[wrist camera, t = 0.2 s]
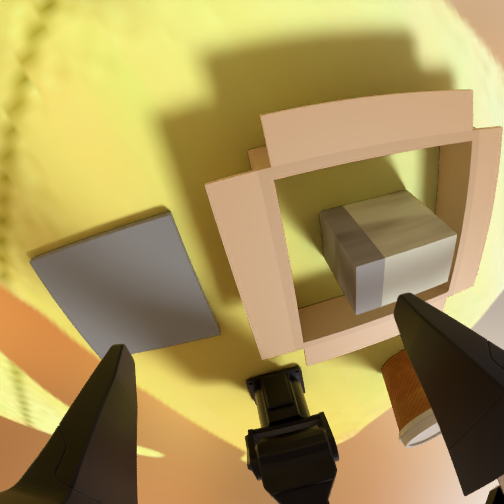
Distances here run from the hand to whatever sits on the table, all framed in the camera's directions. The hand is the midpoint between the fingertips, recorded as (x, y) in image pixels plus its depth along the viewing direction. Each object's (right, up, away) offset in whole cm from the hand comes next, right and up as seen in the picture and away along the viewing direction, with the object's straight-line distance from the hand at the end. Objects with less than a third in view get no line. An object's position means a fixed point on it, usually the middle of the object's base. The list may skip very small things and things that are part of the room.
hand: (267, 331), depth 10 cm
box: (+9, +5, +16) cm, 19 cm away
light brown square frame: (+9, +5, +16) cm, 19 cm away
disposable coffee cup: (+20, -13, +31) cm, 39 cm away
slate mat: (-11, -2, +16) cm, 20 cm away
